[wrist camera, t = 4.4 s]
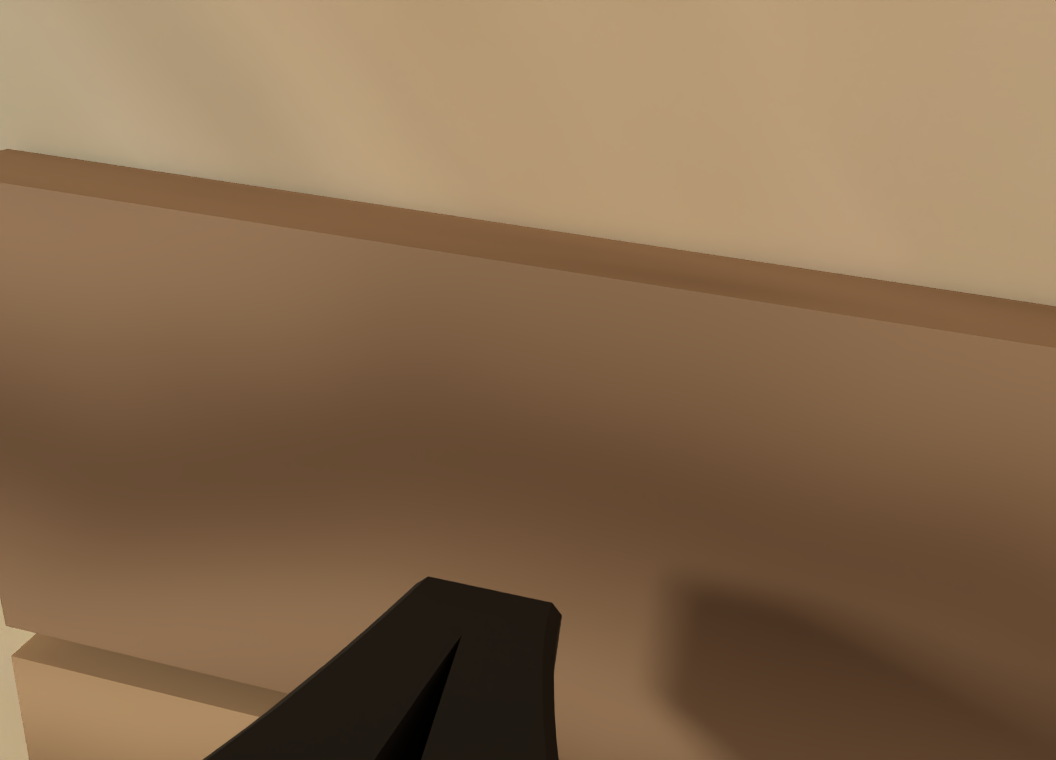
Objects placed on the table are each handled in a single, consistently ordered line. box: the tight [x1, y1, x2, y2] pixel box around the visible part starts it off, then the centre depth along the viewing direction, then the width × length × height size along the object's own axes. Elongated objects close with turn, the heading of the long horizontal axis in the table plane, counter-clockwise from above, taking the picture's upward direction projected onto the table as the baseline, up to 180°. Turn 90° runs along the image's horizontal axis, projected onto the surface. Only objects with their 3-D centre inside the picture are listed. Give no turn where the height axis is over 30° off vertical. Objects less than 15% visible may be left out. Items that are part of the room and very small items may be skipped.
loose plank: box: [0, 149, 1056, 760], centre depth 11 cm, size 7×22×2 cm, turn 84°
